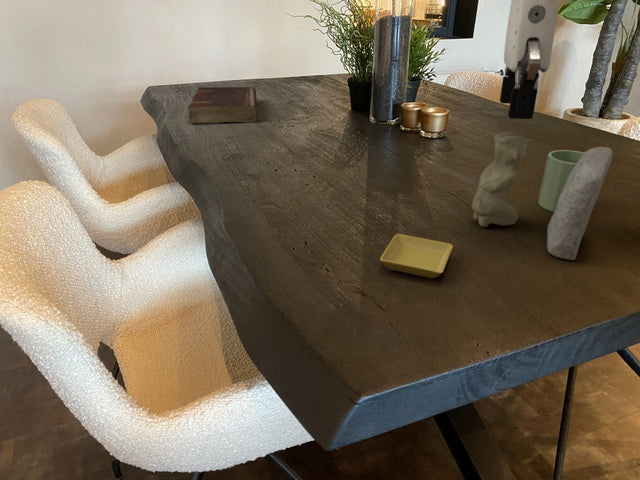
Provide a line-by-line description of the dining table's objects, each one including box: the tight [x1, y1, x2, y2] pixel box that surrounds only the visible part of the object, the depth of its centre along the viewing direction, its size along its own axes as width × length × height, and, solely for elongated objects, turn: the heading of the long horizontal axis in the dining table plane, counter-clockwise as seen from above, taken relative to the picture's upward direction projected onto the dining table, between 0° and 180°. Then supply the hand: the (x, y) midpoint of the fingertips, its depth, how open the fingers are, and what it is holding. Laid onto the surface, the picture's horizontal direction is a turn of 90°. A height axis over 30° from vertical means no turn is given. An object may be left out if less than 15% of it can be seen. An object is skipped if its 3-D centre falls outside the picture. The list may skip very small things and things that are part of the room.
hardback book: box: [188, 86, 258, 124], centre depth 151 cm, size 29×19×5 cm, turn 7°
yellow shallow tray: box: [379, 233, 454, 279], centre depth 69 cm, size 9×9×2 cm
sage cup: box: [537, 149, 585, 213], centre depth 86 cm, size 8×8×9 cm
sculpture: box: [471, 131, 532, 228], centre depth 78 cm, size 6×7×15 cm
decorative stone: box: [546, 146, 614, 261], centre depth 71 cm, size 11×6×15 cm, turn 150°
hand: (514, 110), depth 73 cm, fingers open, 9 cm apart
